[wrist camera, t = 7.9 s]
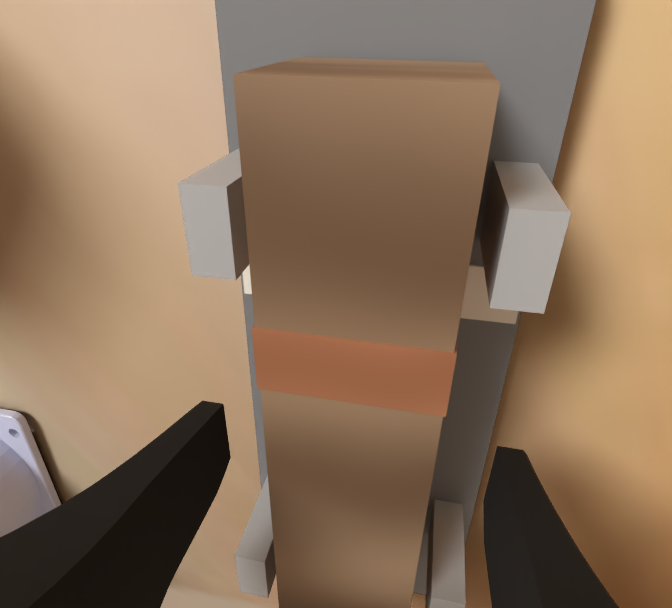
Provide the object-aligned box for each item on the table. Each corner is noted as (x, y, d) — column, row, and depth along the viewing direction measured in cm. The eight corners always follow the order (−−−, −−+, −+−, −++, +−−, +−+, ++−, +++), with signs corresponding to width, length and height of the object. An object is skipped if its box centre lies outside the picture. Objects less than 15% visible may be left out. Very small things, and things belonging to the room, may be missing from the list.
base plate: (451, 577, 21) (452, 700, 17) (275, 542, 22) (239, 648, 18) (594, -44, 10) (685, -88, 6) (228, -41, 11) (114, -76, 7)
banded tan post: (408, 560, 19) (399, 677, 16) (310, 540, 20) (280, 649, 17) (486, 62, 10) (504, 84, 7) (298, 56, 11) (228, 74, 7)
